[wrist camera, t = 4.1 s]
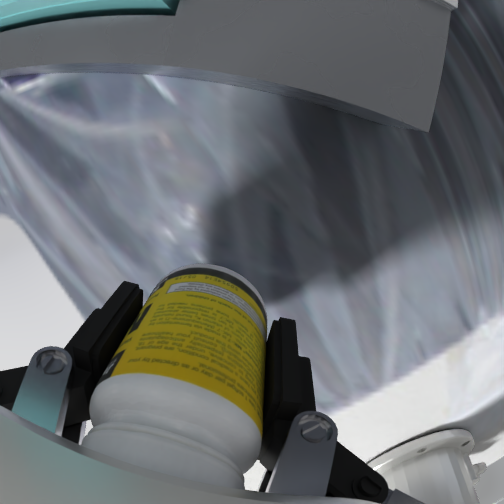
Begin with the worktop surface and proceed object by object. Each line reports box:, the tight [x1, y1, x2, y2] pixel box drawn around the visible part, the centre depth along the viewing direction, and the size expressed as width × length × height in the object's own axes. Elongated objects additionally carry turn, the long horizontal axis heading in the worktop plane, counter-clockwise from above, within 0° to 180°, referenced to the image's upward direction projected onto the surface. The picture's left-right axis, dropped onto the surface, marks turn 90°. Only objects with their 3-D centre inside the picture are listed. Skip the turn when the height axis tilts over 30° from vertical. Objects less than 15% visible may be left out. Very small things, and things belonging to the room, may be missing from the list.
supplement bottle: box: [81, 264, 267, 490], centre depth 9 cm, size 5×5×8 cm
